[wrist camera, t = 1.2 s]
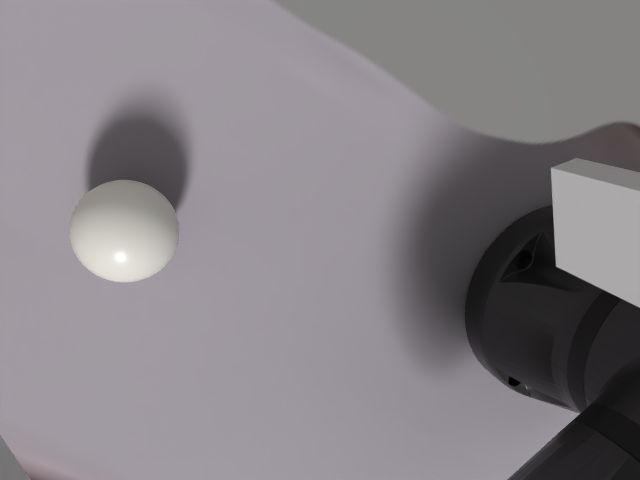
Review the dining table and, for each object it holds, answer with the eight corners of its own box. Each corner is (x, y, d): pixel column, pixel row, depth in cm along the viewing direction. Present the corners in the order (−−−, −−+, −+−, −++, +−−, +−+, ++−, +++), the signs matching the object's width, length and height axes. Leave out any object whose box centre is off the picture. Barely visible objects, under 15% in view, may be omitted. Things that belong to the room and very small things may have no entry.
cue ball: (171, 169, 30) (172, 183, 25) (183, 257, 31) (186, 288, 26) (70, 178, 28) (49, 194, 23) (88, 270, 30) (71, 305, 25)
